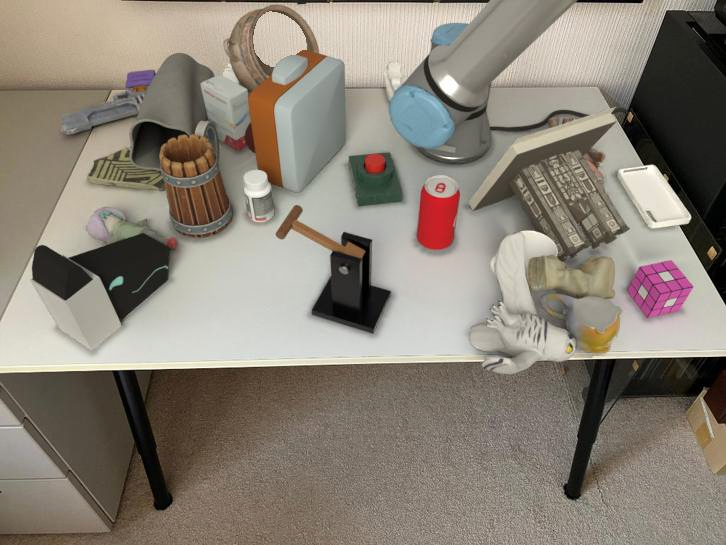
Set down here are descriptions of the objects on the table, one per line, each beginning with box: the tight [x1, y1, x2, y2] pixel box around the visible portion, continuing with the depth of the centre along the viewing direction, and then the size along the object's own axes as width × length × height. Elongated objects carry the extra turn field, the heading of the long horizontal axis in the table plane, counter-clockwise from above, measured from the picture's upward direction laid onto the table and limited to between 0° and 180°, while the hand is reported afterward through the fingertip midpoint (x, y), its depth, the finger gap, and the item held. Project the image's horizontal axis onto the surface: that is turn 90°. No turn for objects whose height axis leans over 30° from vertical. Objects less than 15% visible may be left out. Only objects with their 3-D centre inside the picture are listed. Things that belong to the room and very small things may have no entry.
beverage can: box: [416, 174, 461, 251], centre depth 102 cm, size 6×6×12 cm
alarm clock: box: [248, 50, 347, 193], centre depth 112 cm, size 18×9×21 cm, turn 152°
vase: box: [128, 52, 215, 172], centre depth 122 cm, size 12×12×30 cm
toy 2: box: [468, 231, 577, 375], centre depth 88 cm, size 24×13×15 cm
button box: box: [348, 151, 404, 207], centre depth 115 cm, size 8×12×4 cm, turn 9°
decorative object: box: [29, 233, 171, 352], centre depth 91 cm, size 8×18×15 cm, turn 147°
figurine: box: [547, 116, 606, 191], centre depth 119 cm, size 7×5×20 cm
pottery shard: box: [86, 147, 166, 191], centre depth 115 cm, size 11×16×2 cm, turn 49°
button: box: [365, 153, 385, 173], centre depth 113 cm, size 4×4×2 cm
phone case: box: [616, 164, 692, 230], centre depth 113 cm, size 7×1×15 cm
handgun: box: [60, 69, 157, 136], centre depth 131 cm, size 3×22×15 cm
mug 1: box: [159, 120, 233, 239], centre depth 105 cm, size 16×11×15 cm
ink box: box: [200, 73, 251, 151], centre depth 121 cm, size 9×5×12 cm, turn 48°
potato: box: [245, 122, 256, 155], centre depth 120 cm, size 7×8×7 cm
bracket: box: [311, 231, 392, 335], centre depth 91 cm, size 10×8×13 cm
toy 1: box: [86, 206, 178, 249], centre depth 103 cm, size 11×5×15 cm
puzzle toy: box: [627, 259, 694, 319], centre depth 95 cm, size 6×6×6 cm
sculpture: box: [528, 254, 616, 300], centre depth 93 cm, size 6×7×15 cm
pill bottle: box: [242, 169, 276, 223], centre depth 107 cm, size 5×5×8 cm
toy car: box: [221, 61, 243, 87], centre depth 135 cm, size 6×12×7 cm, turn 160°
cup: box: [489, 230, 558, 287], centre depth 98 cm, size 8×10×7 cm
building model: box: [467, 106, 631, 263], centre depth 103 cm, size 20×20×18 cm
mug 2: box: [539, 291, 623, 354], centre depth 91 cm, size 12×7×7 cm, turn 50°
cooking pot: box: [222, 4, 320, 94], centre depth 131 cm, size 25×19×12 cm
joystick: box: [383, 60, 409, 101], centre depth 134 cm, size 11×8×20 cm
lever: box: [275, 204, 365, 259], centre depth 88 cm, size 12×6×2 cm, turn 69°
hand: (301, 0), depth 104 cm, fingers closed
